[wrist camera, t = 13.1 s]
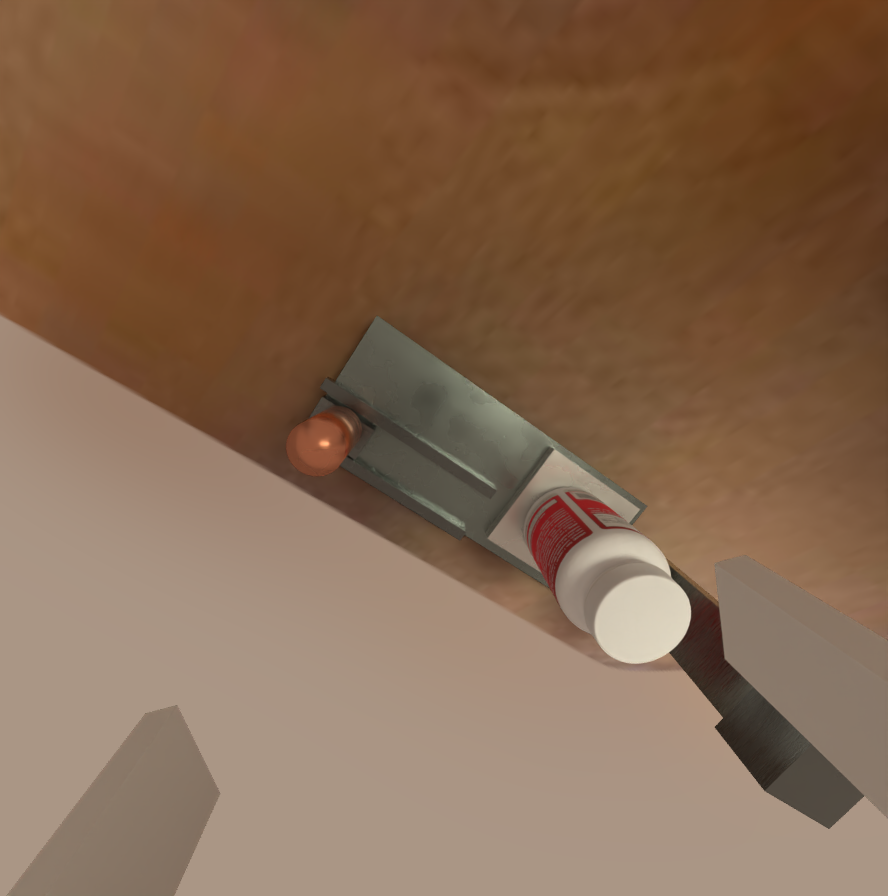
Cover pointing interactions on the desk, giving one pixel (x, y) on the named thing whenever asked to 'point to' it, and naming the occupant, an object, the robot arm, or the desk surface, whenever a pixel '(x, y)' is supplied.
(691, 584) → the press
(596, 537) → the pill bottle
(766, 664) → the robot arm
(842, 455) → the desk surface
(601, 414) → the desk surface
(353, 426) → the lever
